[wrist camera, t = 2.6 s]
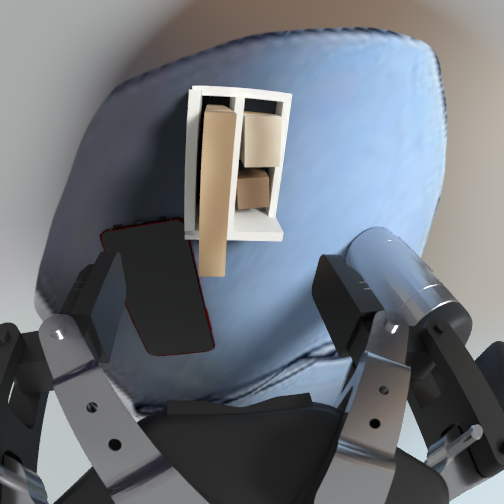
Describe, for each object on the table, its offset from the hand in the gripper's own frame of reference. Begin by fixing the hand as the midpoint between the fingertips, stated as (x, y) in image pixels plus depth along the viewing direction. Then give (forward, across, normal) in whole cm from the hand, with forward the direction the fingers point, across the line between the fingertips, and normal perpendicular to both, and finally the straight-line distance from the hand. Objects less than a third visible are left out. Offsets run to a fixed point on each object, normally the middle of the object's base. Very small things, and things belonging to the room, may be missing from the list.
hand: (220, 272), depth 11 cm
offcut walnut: (+23, -5, +4) cm, 24 cm away
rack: (+23, -3, 0) cm, 23 cm away
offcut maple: (+20, -5, -2) cm, 21 cm away
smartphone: (+24, +6, +21) cm, 33 cm away
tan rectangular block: (+23, 0, 0) cm, 23 cm away
